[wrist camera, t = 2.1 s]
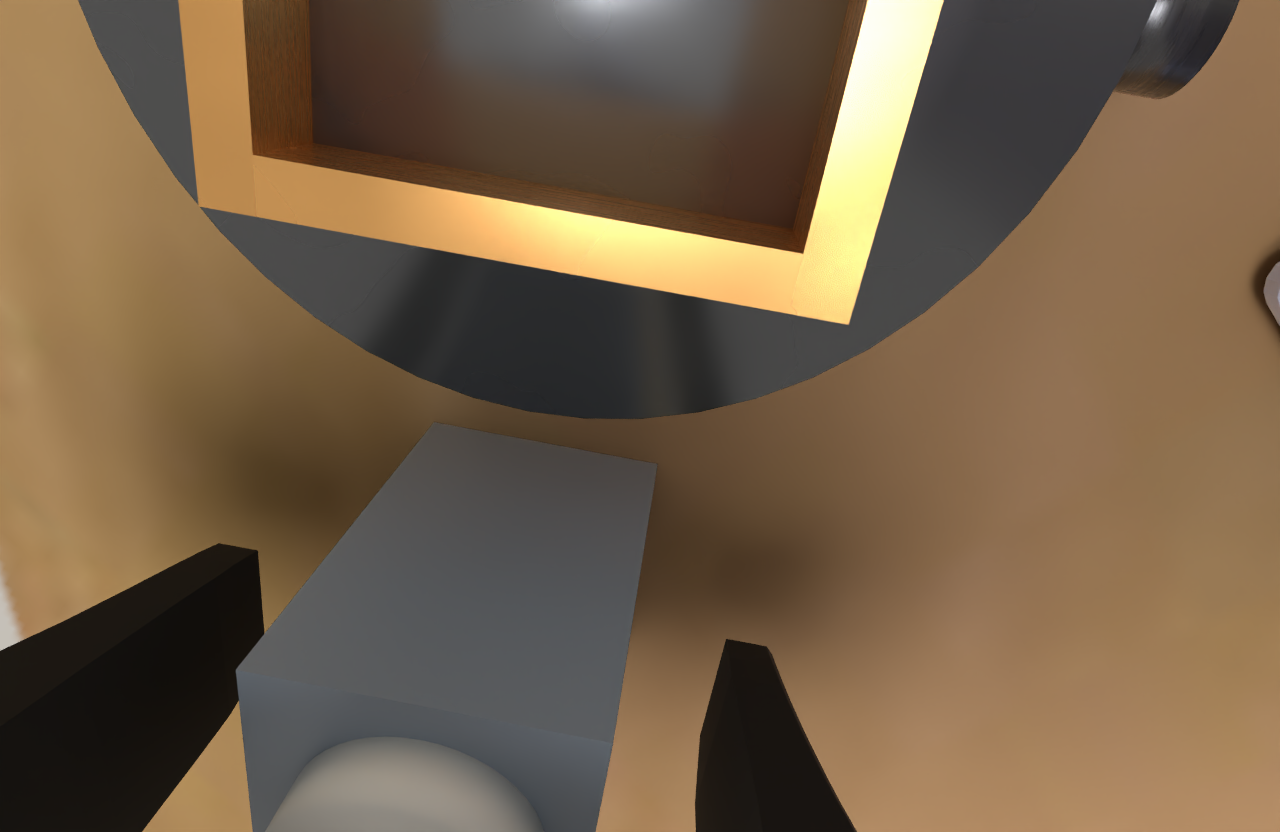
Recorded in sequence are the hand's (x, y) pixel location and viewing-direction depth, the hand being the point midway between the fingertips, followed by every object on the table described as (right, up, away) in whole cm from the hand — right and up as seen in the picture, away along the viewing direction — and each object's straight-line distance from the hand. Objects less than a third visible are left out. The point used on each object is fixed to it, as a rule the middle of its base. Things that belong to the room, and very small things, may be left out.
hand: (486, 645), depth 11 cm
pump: (0, +1, +3) cm, 3 cm away
